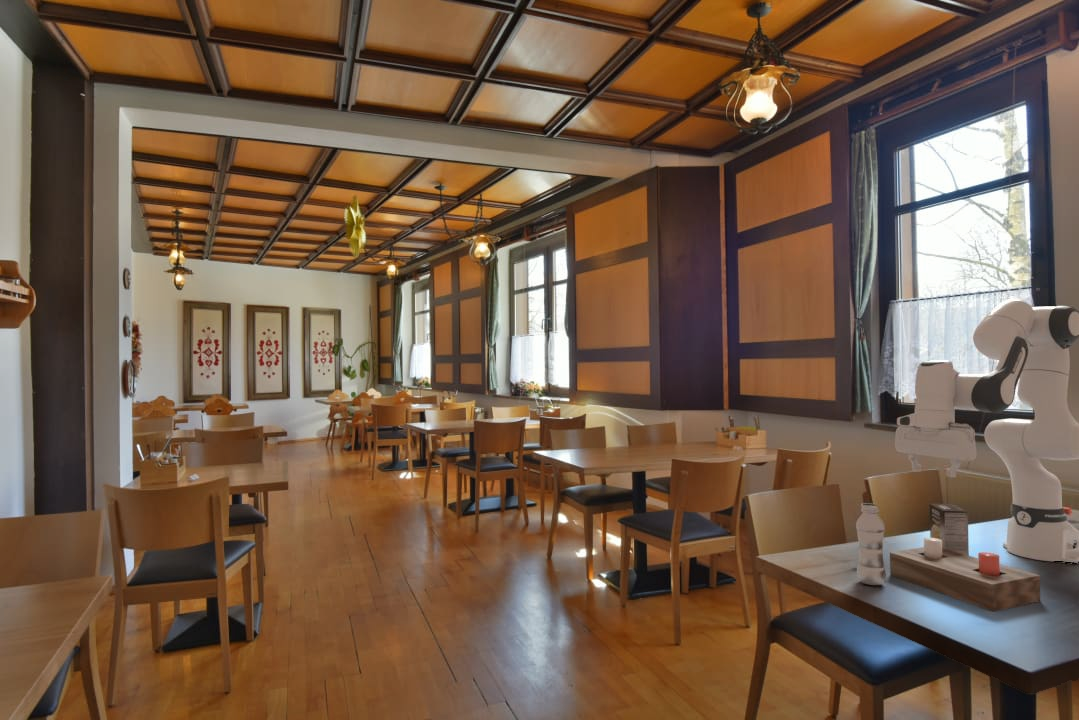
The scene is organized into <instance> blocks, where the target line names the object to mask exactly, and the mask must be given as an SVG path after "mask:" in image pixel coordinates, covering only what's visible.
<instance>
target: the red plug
mask: <svg viewBox="0 0 1079 720" xmlns="http://www.w3.org/2000/svg"><path fill="white" fill-rule="evenodd" d="M977 556H978V557H977V558H978V559H979V572H980V573H983V574H987V575H990V576H998V575H1000V564H1001V563H1000V555H998V554H996V553H992V552H984V551H983V552H982V551H981V552H978V554H977Z"/></svg>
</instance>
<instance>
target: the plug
mask: <svg viewBox="0 0 1079 720" xmlns="http://www.w3.org/2000/svg"><path fill="white" fill-rule="evenodd" d="M923 547H924V556H927V557H930V558H933V559H939V558H942V540H940V539H937V538H930V537H924V538H923Z"/></svg>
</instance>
